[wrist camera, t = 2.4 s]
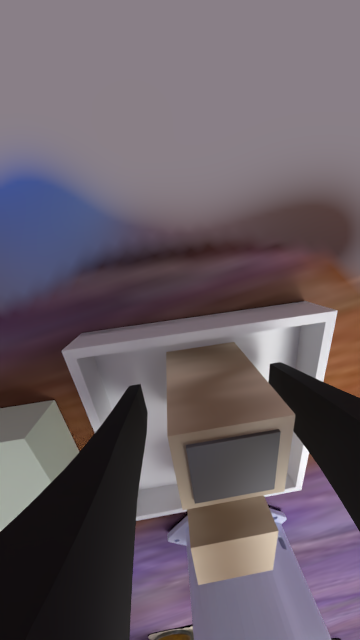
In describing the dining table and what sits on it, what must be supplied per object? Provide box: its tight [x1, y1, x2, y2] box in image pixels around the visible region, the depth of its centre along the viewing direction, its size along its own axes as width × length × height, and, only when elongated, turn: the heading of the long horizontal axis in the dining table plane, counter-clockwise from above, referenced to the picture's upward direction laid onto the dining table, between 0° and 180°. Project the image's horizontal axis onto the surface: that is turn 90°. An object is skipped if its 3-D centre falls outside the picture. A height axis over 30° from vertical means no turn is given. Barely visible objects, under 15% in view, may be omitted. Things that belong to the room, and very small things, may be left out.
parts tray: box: [62, 301, 337, 521], centre depth 11 cm, size 14×13×2 cm
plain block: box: [187, 495, 279, 585], centre depth 11 cm, size 4×4×5 cm
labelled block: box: [166, 342, 295, 510], centre depth 8 cm, size 4×4×5 cm
